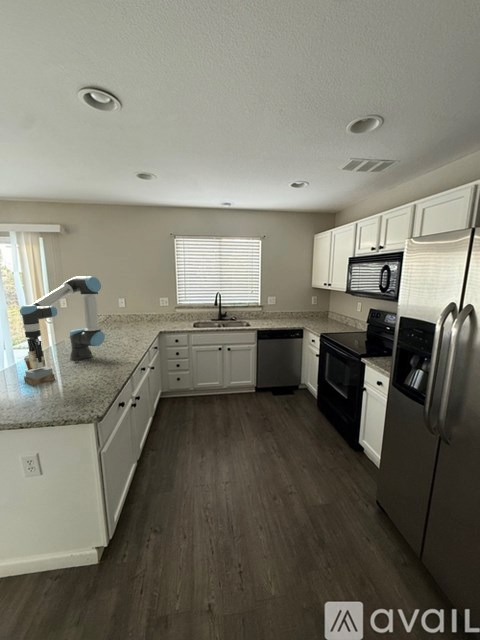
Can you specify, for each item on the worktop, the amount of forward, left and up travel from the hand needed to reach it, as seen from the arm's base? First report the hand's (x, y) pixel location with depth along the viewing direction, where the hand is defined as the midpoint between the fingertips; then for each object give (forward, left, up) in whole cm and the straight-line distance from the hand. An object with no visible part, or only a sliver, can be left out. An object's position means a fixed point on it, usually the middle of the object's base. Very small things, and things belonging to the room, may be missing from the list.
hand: (38, 366), depth 163 cm
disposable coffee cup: (-4, -19, -10) cm, 22 cm away
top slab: (0, 0, -6) cm, 6 cm away
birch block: (0, 0, 0) cm, 0 cm away
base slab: (0, -1, -10) cm, 10 cm away
